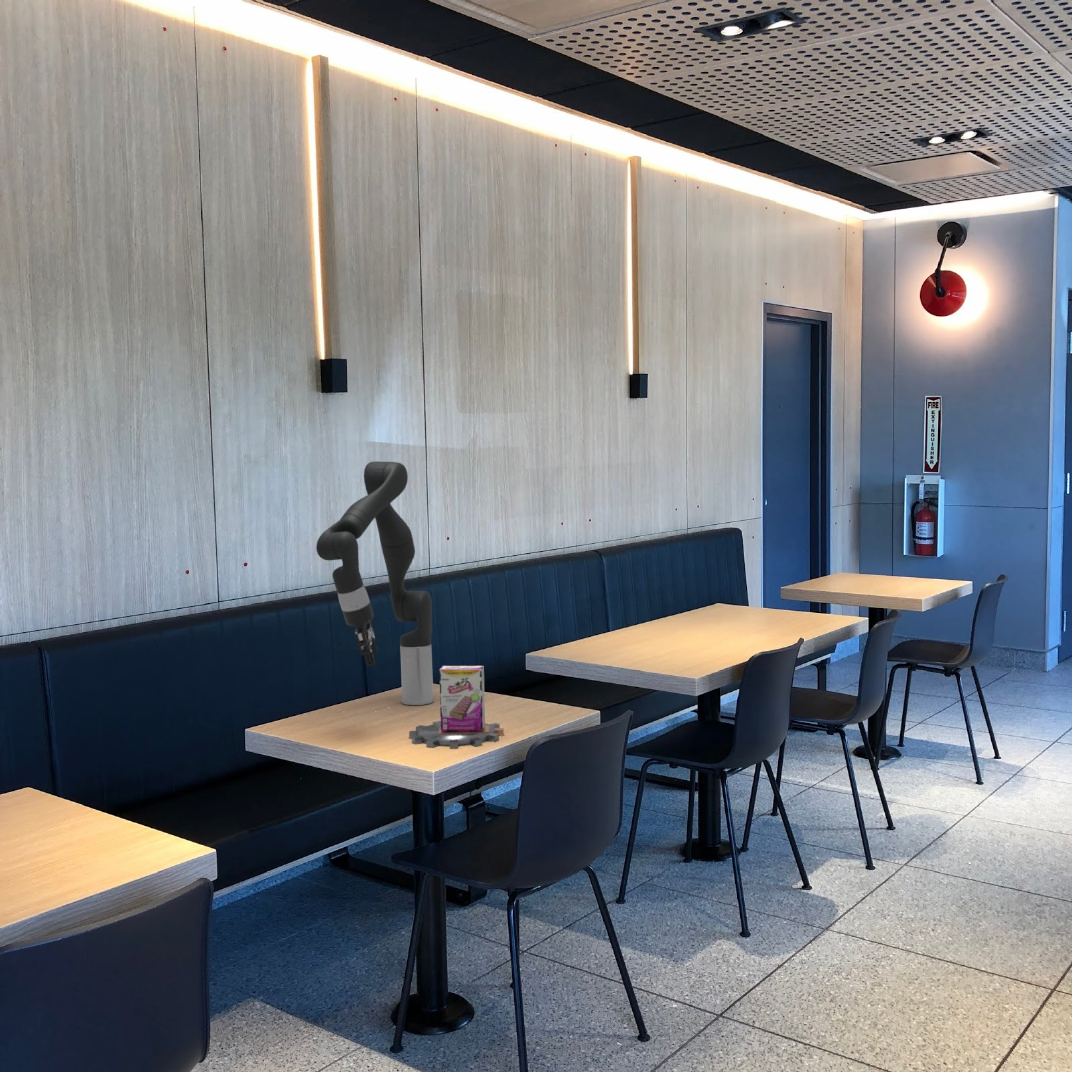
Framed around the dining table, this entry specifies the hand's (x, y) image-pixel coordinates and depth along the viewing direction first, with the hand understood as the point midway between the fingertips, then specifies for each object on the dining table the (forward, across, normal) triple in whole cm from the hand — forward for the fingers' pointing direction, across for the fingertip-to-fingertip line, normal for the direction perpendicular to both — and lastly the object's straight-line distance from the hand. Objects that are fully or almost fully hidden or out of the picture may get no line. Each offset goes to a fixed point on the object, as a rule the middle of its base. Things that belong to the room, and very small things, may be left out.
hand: (372, 659), depth 295 cm
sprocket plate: (+21, -13, -17) cm, 30 cm away
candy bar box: (+20, -13, -19) cm, 31 cm away
